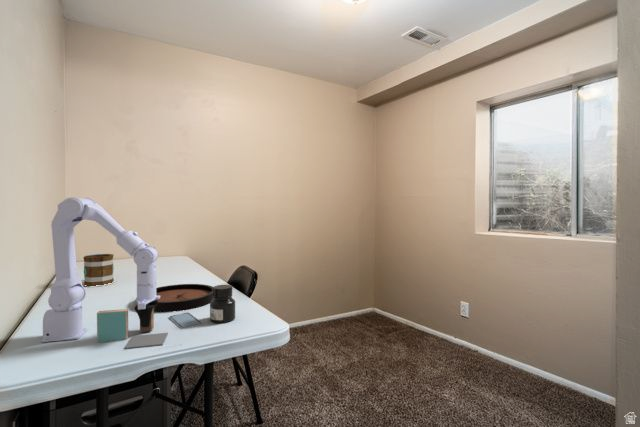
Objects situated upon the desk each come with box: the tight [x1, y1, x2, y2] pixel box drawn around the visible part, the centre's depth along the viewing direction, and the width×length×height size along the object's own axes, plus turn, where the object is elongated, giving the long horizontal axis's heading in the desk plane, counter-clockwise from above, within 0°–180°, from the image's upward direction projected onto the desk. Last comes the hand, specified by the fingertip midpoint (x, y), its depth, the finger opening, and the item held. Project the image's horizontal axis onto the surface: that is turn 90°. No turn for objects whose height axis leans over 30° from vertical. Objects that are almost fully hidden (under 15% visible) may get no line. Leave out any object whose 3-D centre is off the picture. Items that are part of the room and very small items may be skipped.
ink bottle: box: [209, 284, 236, 324], centre depth 120 cm, size 10×9×12 cm
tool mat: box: [124, 332, 169, 350], centre depth 101 cm, size 10×9×1 cm
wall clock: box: [136, 283, 214, 313], centre depth 144 cm, size 31×4×31 cm
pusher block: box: [139, 308, 155, 333], centre depth 109 cm, size 3×3×7 cm
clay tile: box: [96, 308, 129, 343], centre depth 102 cm, size 8×2×9 cm, turn 106°
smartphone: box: [168, 312, 203, 330], centre depth 119 cm, size 7×1×15 cm
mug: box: [83, 253, 115, 287], centre depth 176 cm, size 20×14×15 cm
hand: (146, 324), depth 109 cm, fingers closed on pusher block, 3 cm apart
